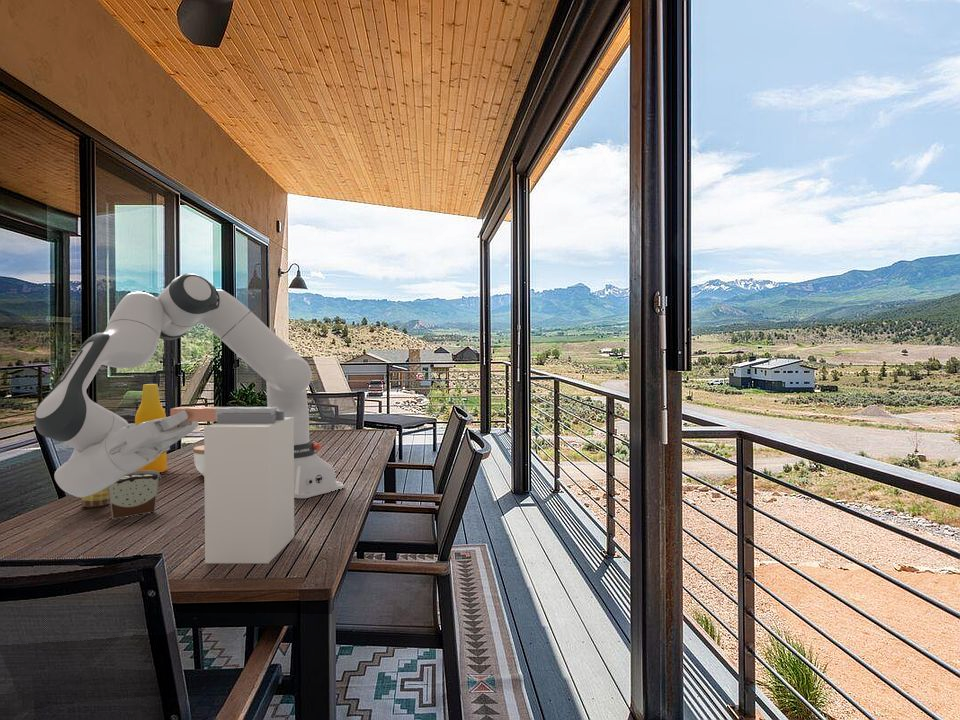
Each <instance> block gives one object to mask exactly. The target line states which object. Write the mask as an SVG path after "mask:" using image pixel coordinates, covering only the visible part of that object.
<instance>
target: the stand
mask: <svg viewBox="0 0 960 720" xmlns="http://www.w3.org/2000/svg"><path fill="white" fill-rule="evenodd" d="M203 445H204V476H203V478H204V479H203V480H204V482H203V483H204V559H205V560H204V564H270V562H271V561H272V560H273V559H274V558H275V557H276V556H277V555H278V554H279V553H280V552H281V551H282V550H283V549H284V548H286V546H288V544H289V543H290V542H291V541H292V540H293V539H294V538H295V498H294V417H284V411H278V419H276V420H275V414H217V421H216V423H213V424H208V425H205V426H203Z"/></svg>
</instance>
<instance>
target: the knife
mask: <svg viewBox="0 0 960 720" xmlns="http://www.w3.org/2000/svg"><path fill="white" fill-rule="evenodd" d="M169 410H170V413H169V414H170V416H173V415H175V414H177V413H179V412H181V411H184V410H187V411H188V412H189V414H190V418H189V419H187V420H185V421H198V422H217V414H275V420H276V419H278V407H267V406H179V407H178V406H177V407H173V408H170V409H169ZM170 416H169V417H170Z"/></svg>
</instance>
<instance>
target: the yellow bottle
mask: <svg viewBox="0 0 960 720" xmlns="http://www.w3.org/2000/svg"><path fill="white" fill-rule="evenodd" d="M158 385H159V384H158V383H147V384H143V385H142V386H143V387H142V394H141V402H140V405H139V407H138V409H137V411H136V413H135V417H134V423H135V424H140V423H143V422H147V421H151V420H156V419H161V418H165V417H167V414H166V411H165V409H164V407H163V406H162V403H161V401H160V400H161V399H160V392H159V386H158ZM167 452H168V451H166V452H164V453H163V454H161V455H159V456H158V457H157V458H156V459H155V460H154V461H152V462H150V463H149V464H147V465H145V466H143V467H142V468H140V469H138V470H137V471H158V472H159V474H160V472H161V473H164V472H166V471H167V468H168V457H167V455H168V454H167Z"/></svg>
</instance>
